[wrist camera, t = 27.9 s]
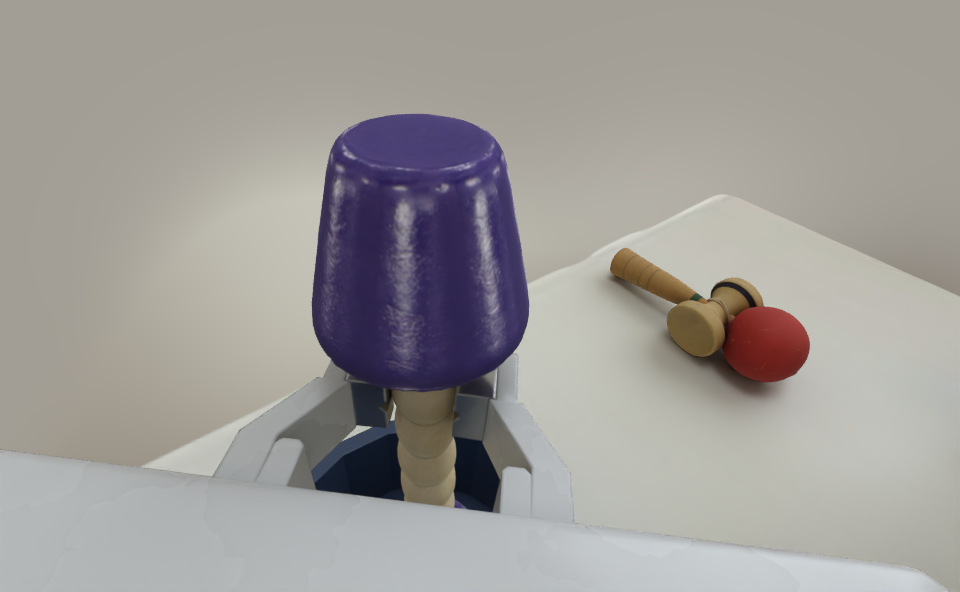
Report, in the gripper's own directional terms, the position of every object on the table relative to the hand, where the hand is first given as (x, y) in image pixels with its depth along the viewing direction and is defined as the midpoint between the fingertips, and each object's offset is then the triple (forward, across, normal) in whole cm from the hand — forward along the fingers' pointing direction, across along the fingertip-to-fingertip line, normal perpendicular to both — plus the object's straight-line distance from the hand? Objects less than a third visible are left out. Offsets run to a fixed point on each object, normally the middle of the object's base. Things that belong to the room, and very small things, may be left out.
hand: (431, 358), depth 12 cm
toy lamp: (-1, 0, +10) cm, 10 cm away
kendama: (+24, -20, +18) cm, 36 cm away
